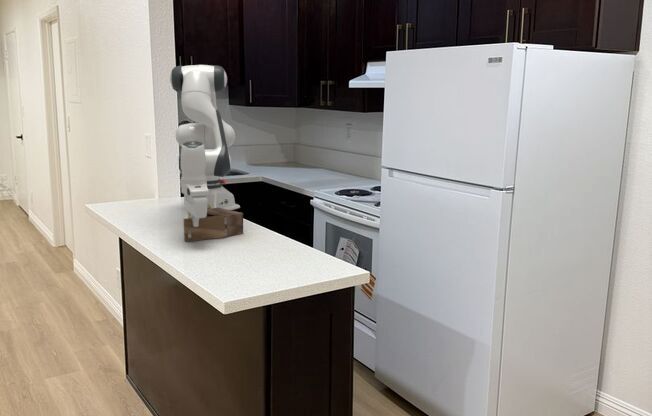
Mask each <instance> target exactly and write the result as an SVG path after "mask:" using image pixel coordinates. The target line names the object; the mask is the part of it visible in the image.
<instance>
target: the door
mask: <svg viewBox="0 0 652 416" xmlns="http://www.w3.org/2000/svg"><path fill="white" fill-rule="evenodd" d="M225 224H227V217H225V216H224V215H223V216H211V217H206V218H199V226H198V227H194V226H193V225H192V218H188V217H187V218H183V235H184V236H183V239H184V242H189V241H199V240H200V241H201V240H202V241H203V240H209V239H218V238H219V239H220V238H227V237H226V236H227V229H225Z"/></svg>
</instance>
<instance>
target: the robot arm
mask: <svg viewBox="0 0 652 416" xmlns="http://www.w3.org/2000/svg"><path fill="white" fill-rule="evenodd" d="M169 81H170V85H171V87H172V90H174V91H175V92H177V93H181V96H180V97H181V99H180V100H181V109H182V112H183V114H184V115H185V116H186V117H187V118H188V119H190V120H191V121H193V122H195V123H193V122H191V123H185V124H180V125H179V126H178V127H177V129H176V132H175V139H176V142H177V144H178V145H179V146H180V147H181V150H180V154H179V155H178V170H179V171H180V172H181V178H180V182H181V183H180V185H181V187H180V188H181V193H182V194H183V199H184V201H183V203H184V204H183V206H184V210H185V211H186V212H187V211H188V212H189V213H191V218H192V225H193V226H194V227H198V226H199V218H206V215H207V203H208V204H209V205H210V206H211V209H212V208H223V209H227V210H232V211H235V210H238V209H240V208H241V206H240V205H239V204H238V203H236V201H235V200H236V199H235V196H234V194H233V193H232V192H230V191H229V190H228V189H226V188H225V187H224V186H223V185H227V183H228V181H227V179H225V178H224V179H221V178H220V177H225V176H226V175H228V173H230V172H231V171H232V167H233V165H232V163H233V162H232V157H231V153H230V152H229V147H231V146H232V145H233V144H234V142H235V141H236V133H235V130H234V128H233V126H231V125H230V124H228V123H227V122H225V121H224V120H223V118H222V115H221V113H220V111H219V109H218V106H217V96H216V93H220V92H223V91H224V90H225V89H226V87H227V85H228V76H227V72H226V71H225V69H224V68H223V67H222V66H220V65H210V64H209V65H208V64H194V65H191V64H190V65H184V66H183V65H176V66H174V67H173V68H172V69H171V71H170V76H169ZM188 212H187V213H188Z"/></svg>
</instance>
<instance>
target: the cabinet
mask: <svg viewBox="0 0 652 416" xmlns="http://www.w3.org/2000/svg"><path fill="white" fill-rule="evenodd" d="M223 215H224V216H225V217H227V224H225V229H227V236H226V237H225V238H230V237H234V236H239V235H242V234H244V213H243V212H241V211H240V212H239V211H236V210H227V209H223V208H212V209H207V215H206V217H211V216H223Z"/></svg>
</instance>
